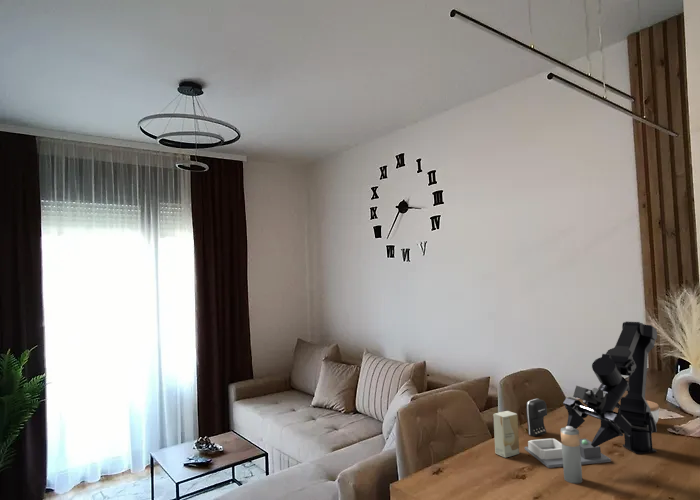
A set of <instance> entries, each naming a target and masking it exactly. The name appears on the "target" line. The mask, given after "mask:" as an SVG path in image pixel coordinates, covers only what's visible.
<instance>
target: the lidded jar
mask: <svg viewBox="0 0 700 500" xmlns="http://www.w3.org/2000/svg"><path fill="white" fill-rule="evenodd" d="M645 400H646V399H645ZM646 402H647V403H648V405H649V407H650V409H651V413H652V415H653V418H654V420H655V422H656V424H657V423H658V421H659V419H660V418H659V417H660V410H659V409H660V405H659V404H658V403H657V402H654V401H651V400H648V399H647V400H646Z"/></svg>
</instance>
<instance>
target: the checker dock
mask: <svg viewBox="0 0 700 500" xmlns="http://www.w3.org/2000/svg"><path fill="white" fill-rule="evenodd" d="M591 443H592V440H589V439H588V438H580V454H581V466H583V465H590V464H591V465H592V464H602V463H611V462H612V458H610V457H608V456H607V455H605V454H603V453H602V452H601V446H600V445H598V446H596V447H593V446H592V445H591ZM527 445H528V446H524V450H525V451H526V452H528V453H529V454H530V455H531V456H533V457H534V458H535V459H536V460H537V461H539V462H540V463H541V464H543V465H544V466H545V467H546V468H547V469H553V468H561V467H562V468H563V456H562V443H561V441H559V440H557V439H556V438H541V439H530V440H528V441H527Z"/></svg>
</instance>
